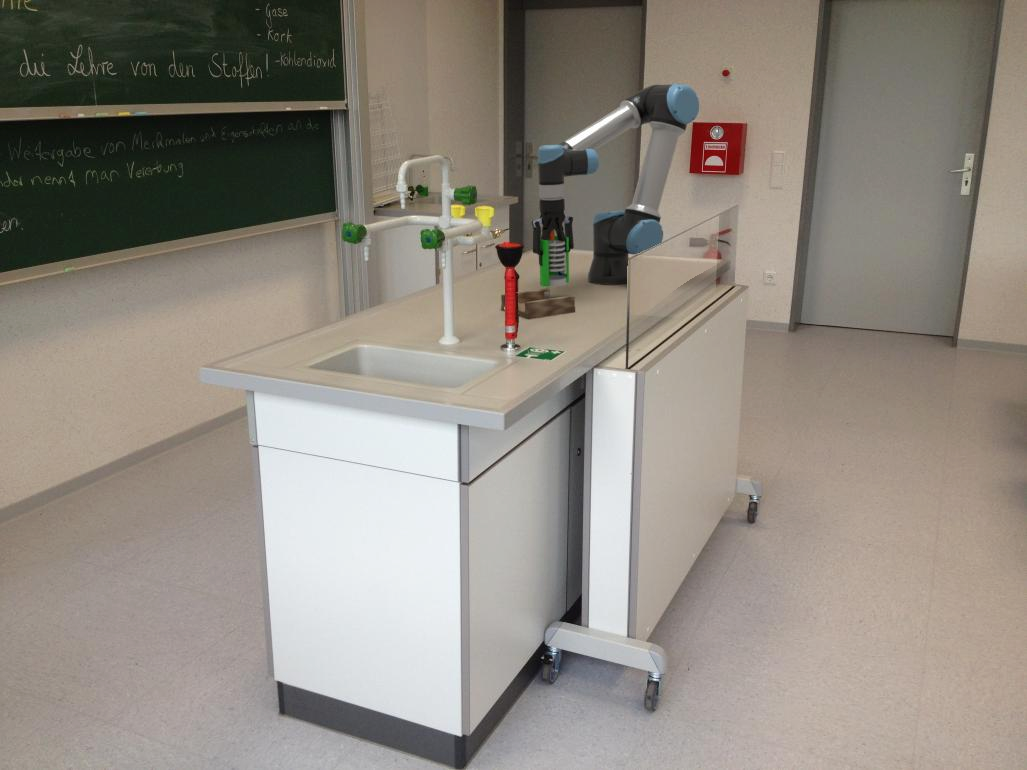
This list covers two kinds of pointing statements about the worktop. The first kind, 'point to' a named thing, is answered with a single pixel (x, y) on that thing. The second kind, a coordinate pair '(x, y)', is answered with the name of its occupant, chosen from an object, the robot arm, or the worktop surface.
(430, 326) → the worktop surface
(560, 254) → the green-shelled ribbed roller
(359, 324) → the worktop surface
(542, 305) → the housing
